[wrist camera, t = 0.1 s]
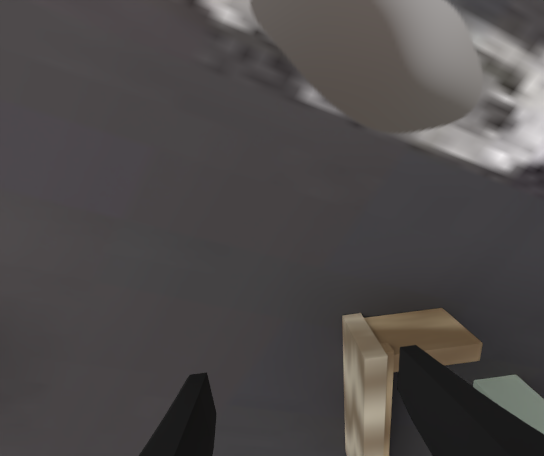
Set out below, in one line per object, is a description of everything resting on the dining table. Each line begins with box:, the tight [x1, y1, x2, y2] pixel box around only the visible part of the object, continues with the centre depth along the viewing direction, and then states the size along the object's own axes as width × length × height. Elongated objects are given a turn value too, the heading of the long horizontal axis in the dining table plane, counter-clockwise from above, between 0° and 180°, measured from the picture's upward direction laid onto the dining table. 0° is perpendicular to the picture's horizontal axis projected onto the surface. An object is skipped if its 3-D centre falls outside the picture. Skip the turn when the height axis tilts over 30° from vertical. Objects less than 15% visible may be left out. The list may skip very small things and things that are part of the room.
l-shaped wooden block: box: [342, 308, 483, 456], centre depth 21 cm, size 16×8×4 cm, turn 6°
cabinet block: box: [473, 375, 544, 434], centre depth 22 cm, size 7×4×7 cm, turn 6°
